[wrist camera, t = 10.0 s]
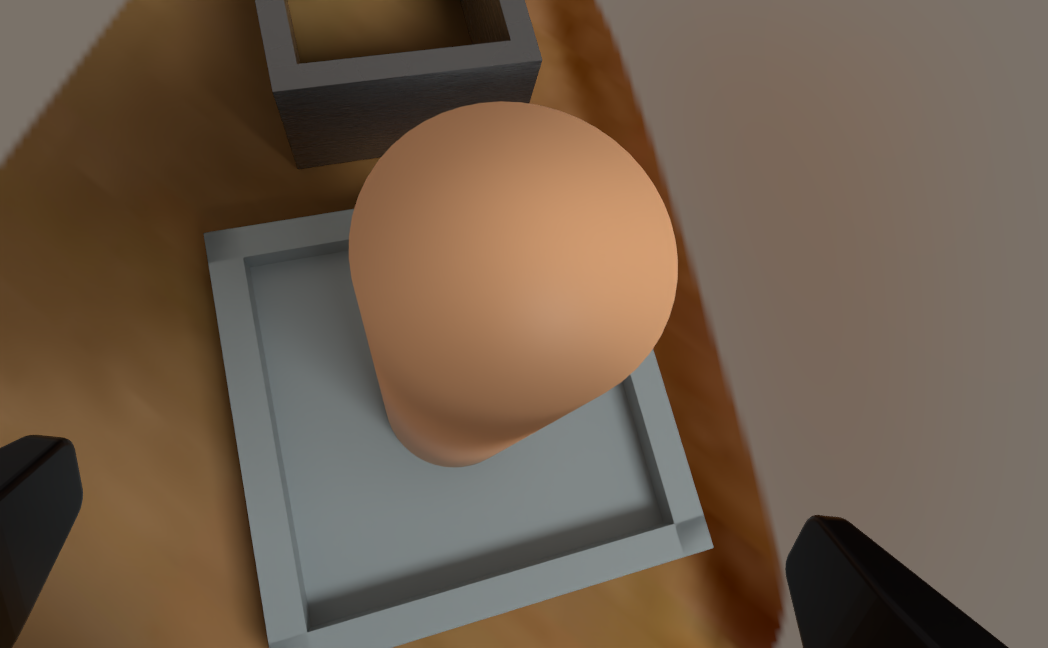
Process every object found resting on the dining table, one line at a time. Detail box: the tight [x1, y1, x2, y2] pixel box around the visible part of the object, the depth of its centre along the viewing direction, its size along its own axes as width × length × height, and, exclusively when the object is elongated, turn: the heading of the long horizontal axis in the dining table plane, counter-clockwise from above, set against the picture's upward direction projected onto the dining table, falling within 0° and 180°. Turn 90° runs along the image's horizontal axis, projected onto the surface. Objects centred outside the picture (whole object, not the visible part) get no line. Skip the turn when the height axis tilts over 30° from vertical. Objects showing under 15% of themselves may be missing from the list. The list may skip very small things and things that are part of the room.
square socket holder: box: [255, 0, 542, 169], centre depth 23 cm, size 8×8×4 cm
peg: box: [349, 101, 678, 467], centre depth 15 cm, size 4×4×13 cm
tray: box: [204, 209, 713, 648], centre depth 21 cm, size 13×13×2 cm
